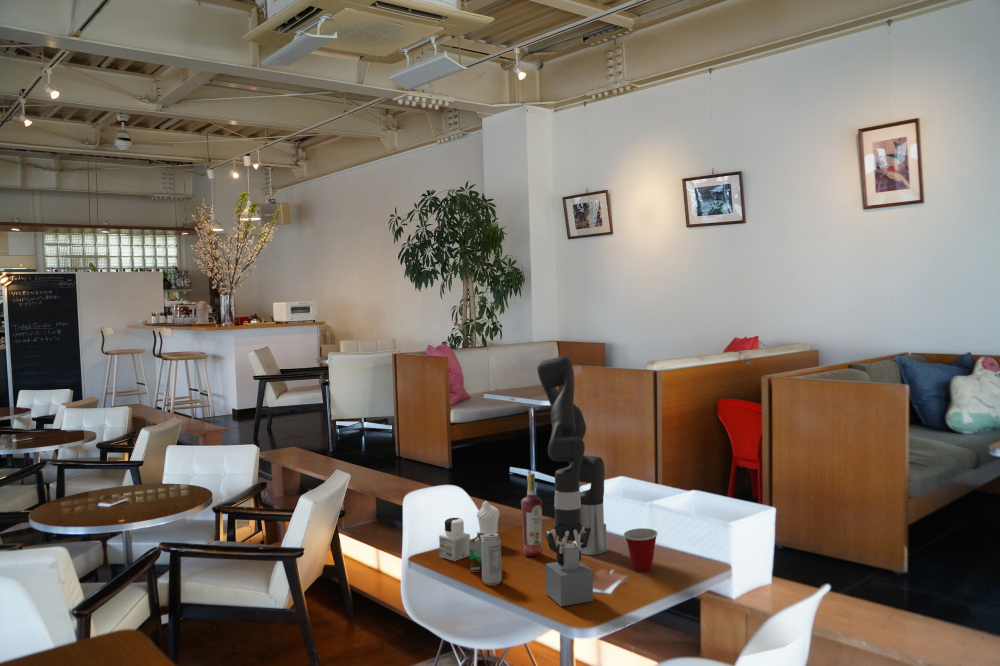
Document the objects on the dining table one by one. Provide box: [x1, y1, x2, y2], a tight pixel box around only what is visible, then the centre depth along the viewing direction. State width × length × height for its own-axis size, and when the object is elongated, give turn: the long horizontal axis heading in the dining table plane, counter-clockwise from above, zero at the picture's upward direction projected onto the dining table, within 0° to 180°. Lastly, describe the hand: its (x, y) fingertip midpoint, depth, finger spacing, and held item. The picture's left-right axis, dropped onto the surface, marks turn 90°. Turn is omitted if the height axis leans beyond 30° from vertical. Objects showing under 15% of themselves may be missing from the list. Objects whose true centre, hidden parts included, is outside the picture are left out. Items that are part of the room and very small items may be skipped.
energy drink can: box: [481, 532, 503, 586], centre depth 227 cm, size 6×6×15 cm
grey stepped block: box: [545, 542, 594, 607], centre depth 212 cm, size 10×10×15 cm
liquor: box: [520, 473, 543, 557], centre depth 252 cm, size 7×7×28 cm
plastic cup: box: [623, 527, 659, 573], centre depth 235 cm, size 11×11×12 cm
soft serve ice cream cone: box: [476, 500, 500, 533], centre depth 265 cm, size 8×8×16 cm
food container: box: [469, 531, 485, 572], centre depth 241 cm, size 12×6×10 cm, turn 168°
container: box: [438, 517, 471, 562], centre depth 253 cm, size 8×8×13 cm
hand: (568, 563), depth 212 cm, fingers closed on grey stepped block, 4 cm apart
